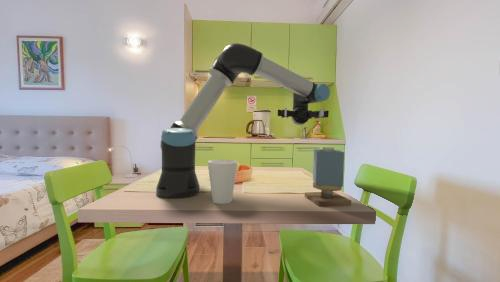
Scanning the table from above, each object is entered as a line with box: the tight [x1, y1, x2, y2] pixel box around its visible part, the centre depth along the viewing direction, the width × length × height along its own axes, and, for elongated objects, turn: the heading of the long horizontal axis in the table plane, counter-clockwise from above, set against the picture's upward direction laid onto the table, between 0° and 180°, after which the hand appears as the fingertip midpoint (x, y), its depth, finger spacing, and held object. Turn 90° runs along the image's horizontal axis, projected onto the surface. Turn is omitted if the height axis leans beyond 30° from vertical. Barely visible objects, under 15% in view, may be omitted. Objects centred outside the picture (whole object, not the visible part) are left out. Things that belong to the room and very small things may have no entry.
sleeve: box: [312, 148, 345, 187], centre depth 80 cm, size 8×8×11 cm
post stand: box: [304, 146, 352, 207], centre depth 80 cm, size 11×11×18 cm
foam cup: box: [207, 159, 238, 205], centre depth 78 cm, size 10×9×13 cm
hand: (303, 111), depth 89 cm, fingers open, 13 cm apart
